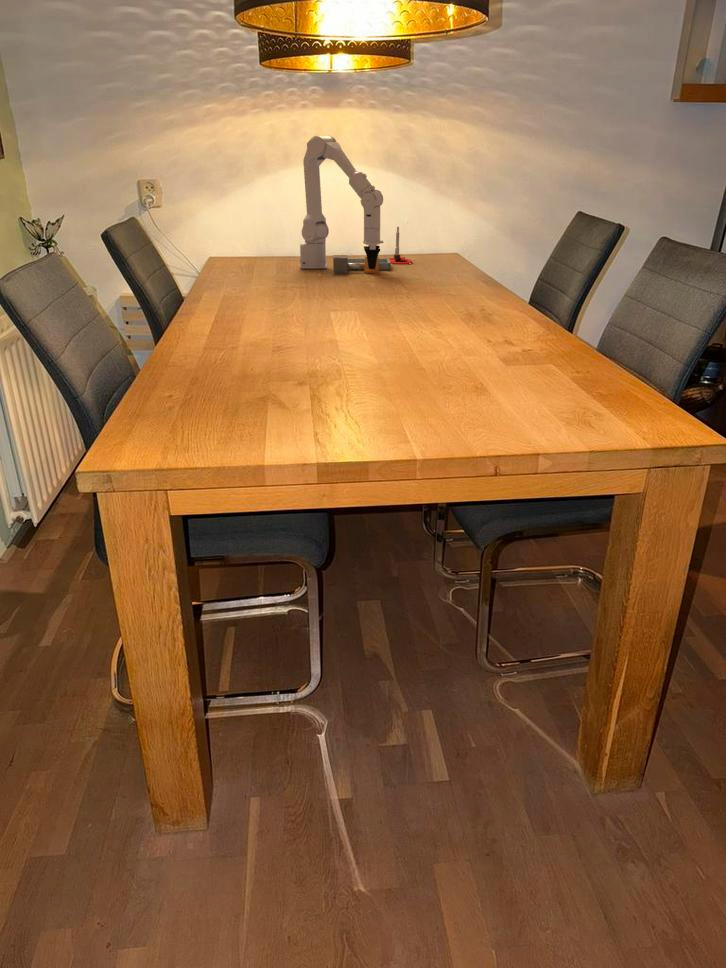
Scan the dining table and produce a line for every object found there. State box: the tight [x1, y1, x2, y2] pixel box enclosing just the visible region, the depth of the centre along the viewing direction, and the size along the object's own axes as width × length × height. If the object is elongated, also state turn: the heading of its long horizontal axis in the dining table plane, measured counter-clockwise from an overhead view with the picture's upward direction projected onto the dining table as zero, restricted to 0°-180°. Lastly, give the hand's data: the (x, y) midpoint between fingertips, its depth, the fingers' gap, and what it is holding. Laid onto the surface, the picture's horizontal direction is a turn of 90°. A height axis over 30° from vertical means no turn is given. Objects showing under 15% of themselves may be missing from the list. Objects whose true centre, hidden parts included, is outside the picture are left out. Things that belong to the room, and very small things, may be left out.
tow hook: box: [389, 226, 413, 265], centre depth 280 cm, size 8×13×9 cm
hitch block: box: [332, 254, 349, 275], centre depth 262 cm, size 5×7×5 cm
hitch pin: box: [348, 256, 380, 274], centre depth 262 cm, size 15×4×5 cm, turn 92°
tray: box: [348, 257, 392, 271], centre depth 271 cm, size 20×11×2 cm, turn 92°
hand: (371, 268), depth 263 cm, fingers closed on hitch pin, 4 cm apart
